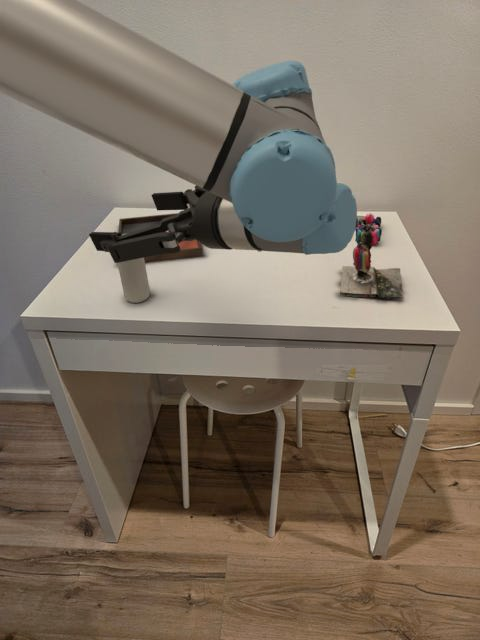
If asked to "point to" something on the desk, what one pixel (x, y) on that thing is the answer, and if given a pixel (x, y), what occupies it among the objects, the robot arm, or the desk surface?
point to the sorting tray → (186, 247)
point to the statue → (369, 268)
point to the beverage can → (134, 280)
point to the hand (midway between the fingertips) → (126, 220)
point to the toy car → (376, 221)
